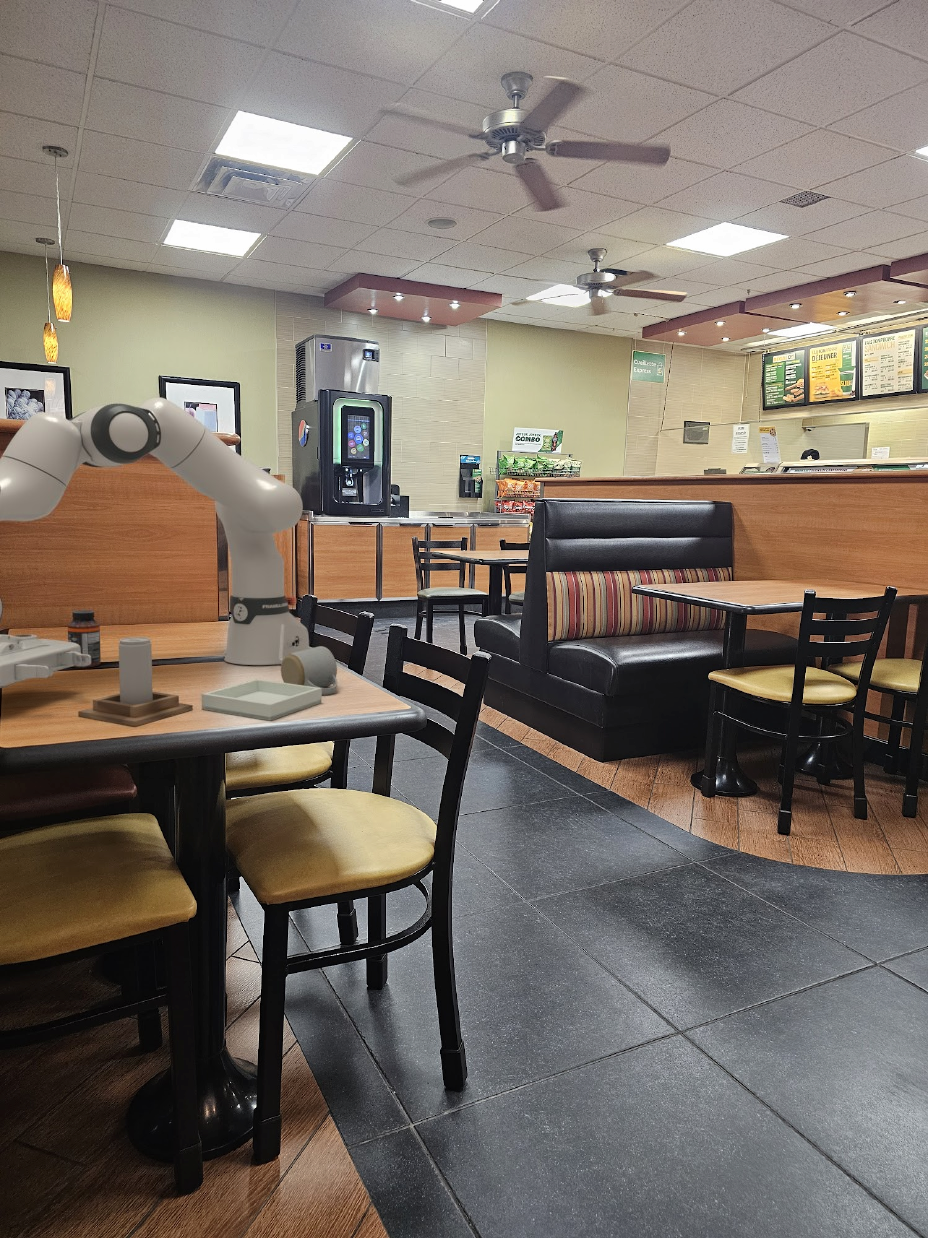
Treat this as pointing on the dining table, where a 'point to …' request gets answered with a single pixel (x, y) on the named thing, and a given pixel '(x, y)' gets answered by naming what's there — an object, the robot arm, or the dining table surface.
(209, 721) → the dining table surface
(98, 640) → the supplement bottle
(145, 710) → the walnut collar
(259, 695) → the tray
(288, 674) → the ceramic mug
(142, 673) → the beverage can
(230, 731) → the dining table surface
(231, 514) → the robot arm
